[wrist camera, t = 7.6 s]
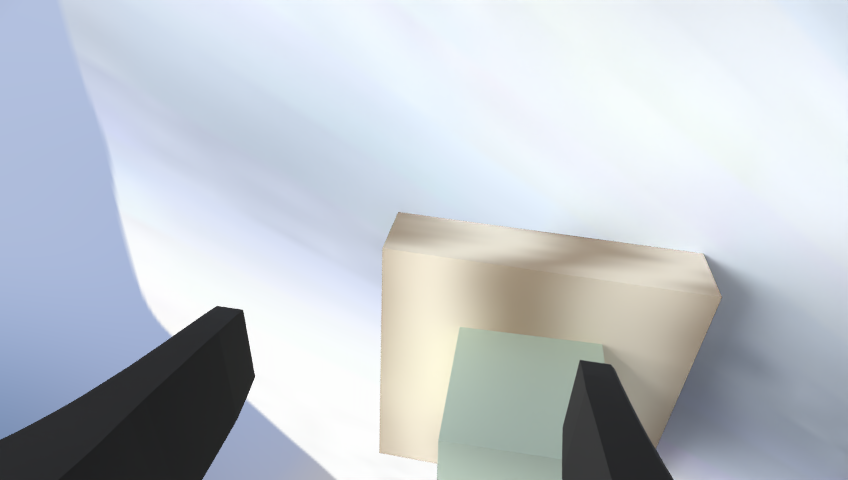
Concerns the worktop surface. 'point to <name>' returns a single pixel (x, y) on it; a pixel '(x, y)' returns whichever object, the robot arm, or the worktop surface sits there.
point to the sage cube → (508, 405)
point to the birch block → (531, 314)
